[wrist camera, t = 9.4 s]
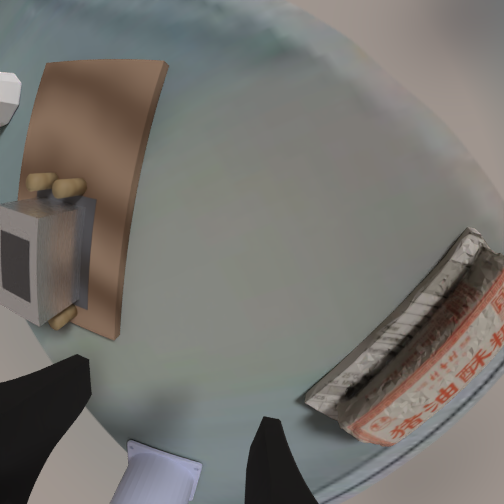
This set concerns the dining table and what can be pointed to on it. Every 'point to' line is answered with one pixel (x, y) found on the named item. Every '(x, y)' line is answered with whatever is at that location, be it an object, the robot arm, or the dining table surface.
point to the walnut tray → (93, 168)
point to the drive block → (40, 256)
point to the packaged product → (421, 349)
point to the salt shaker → (8, 96)
